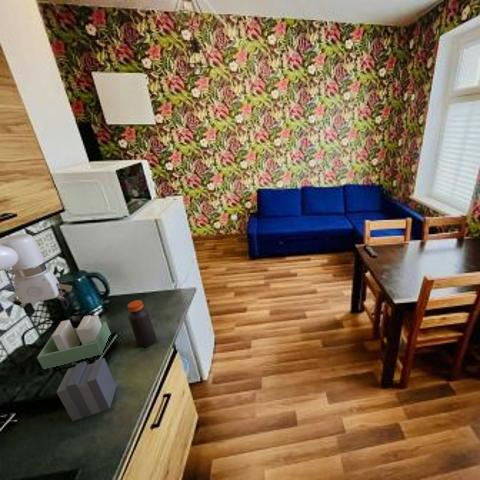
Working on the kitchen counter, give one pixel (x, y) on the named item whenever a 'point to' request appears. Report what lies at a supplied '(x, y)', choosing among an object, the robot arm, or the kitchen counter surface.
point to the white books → (89, 329)
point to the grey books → (87, 389)
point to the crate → (73, 350)
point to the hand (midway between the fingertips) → (49, 311)
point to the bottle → (141, 324)
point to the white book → (65, 336)
